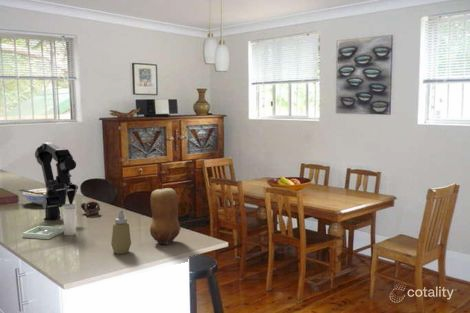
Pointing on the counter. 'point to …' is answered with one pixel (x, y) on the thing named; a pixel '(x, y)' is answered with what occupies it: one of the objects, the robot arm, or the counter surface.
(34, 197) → the ramen bowl
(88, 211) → the pottery mug
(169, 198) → the butternut squash
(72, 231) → the cylinder
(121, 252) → the squeeze bottle
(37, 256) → the counter surface
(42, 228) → the tray
